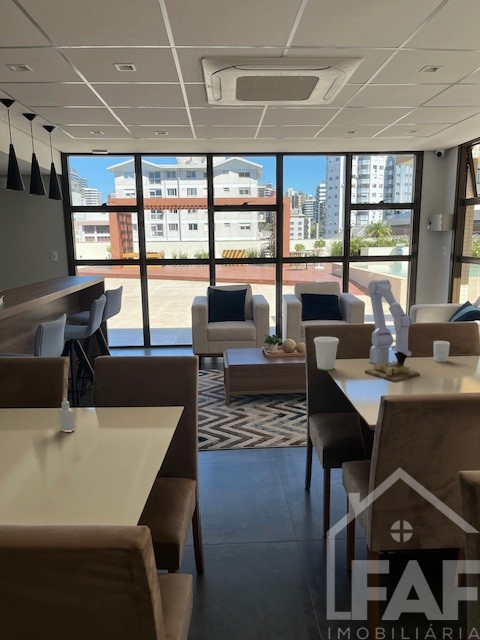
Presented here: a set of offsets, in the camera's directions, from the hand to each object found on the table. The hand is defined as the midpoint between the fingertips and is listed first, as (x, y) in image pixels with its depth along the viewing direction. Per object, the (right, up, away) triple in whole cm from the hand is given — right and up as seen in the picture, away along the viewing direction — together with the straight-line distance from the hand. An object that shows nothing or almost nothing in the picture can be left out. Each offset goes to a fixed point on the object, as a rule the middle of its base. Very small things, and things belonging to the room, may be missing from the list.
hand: (400, 367), depth 225 cm
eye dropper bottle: (-141, -16, -64) cm, 155 cm away
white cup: (+28, +1, +19) cm, 34 cm away
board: (-6, -3, -4) cm, 8 cm away
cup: (-36, -2, +8) cm, 37 cm away
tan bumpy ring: (-6, -1, -4) cm, 8 cm away
